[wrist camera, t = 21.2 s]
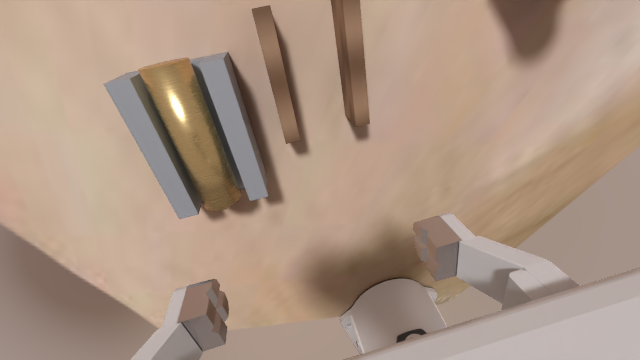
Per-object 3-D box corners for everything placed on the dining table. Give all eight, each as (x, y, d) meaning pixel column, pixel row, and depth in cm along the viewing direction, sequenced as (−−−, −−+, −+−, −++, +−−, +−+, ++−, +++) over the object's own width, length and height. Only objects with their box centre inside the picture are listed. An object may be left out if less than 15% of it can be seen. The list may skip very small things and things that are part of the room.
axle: (242, 185, 33) (239, 206, 29) (208, 193, 32) (200, 214, 29) (193, 55, 25) (181, 62, 22) (149, 64, 25) (129, 73, 22)
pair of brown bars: (357, 112, 33) (369, 123, 30) (282, 130, 32) (286, 143, 29) (345, -9, 27) (358, -13, 24) (251, 9, 26) (251, 8, 23)
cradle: (266, 174, 35) (268, 196, 31) (188, 193, 34) (179, 219, 30) (227, 51, 27) (223, 58, 23) (127, 73, 27) (103, 84, 22)
